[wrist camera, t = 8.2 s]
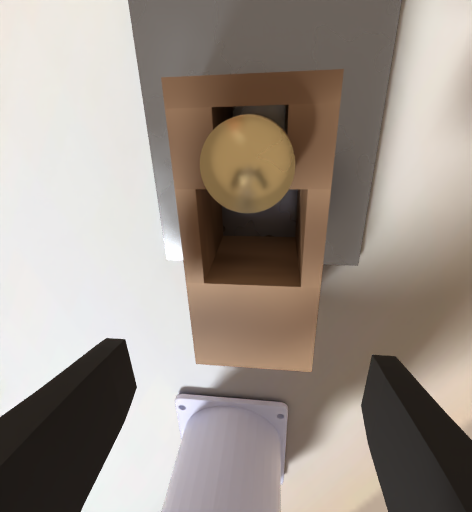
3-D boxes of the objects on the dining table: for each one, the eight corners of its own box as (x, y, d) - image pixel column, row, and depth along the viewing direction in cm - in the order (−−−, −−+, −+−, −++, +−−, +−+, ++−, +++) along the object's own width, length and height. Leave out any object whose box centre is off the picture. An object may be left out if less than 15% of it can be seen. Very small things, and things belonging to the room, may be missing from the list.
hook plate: (355, 260, 16) (396, 347, 11) (170, 254, 17) (117, 330, 12) (404, -47, 11) (541, -206, 5) (130, -23, 12) (-1, -129, 6)
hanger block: (303, 307, 17) (311, 372, 13) (215, 303, 18) (196, 363, 14) (322, 78, 12) (343, 68, 8) (198, 84, 13) (161, 77, 9)
